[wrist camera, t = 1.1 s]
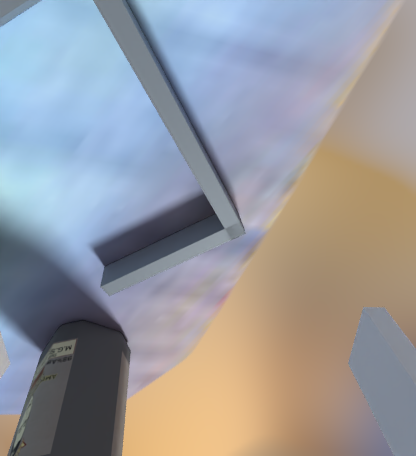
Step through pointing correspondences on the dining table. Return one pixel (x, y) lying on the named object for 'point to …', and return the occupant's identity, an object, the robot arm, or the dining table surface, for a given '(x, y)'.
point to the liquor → (76, 395)
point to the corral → (186, 142)
